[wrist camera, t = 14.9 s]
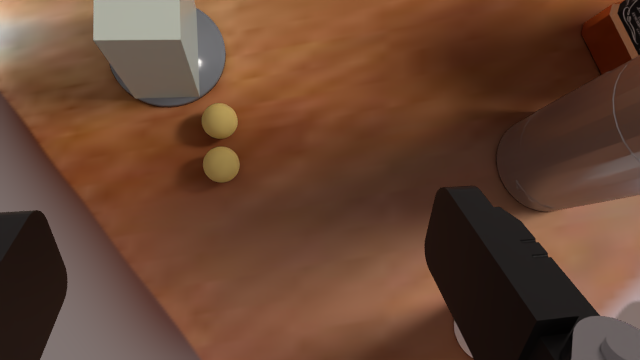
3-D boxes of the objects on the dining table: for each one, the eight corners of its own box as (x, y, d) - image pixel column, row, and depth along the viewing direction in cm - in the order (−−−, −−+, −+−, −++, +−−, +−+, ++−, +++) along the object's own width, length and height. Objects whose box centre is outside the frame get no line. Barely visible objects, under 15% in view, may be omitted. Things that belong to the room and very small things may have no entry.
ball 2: (219, 145, 39) (216, 135, 36) (247, 165, 39) (246, 156, 36) (197, 171, 38) (192, 163, 35) (226, 192, 38) (223, 186, 35)
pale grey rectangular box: (134, 9, 39) (94, -75, 30) (196, 9, 40) (177, -72, 31) (135, 98, 38) (93, 40, 28) (199, 96, 39) (180, 39, 29)
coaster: (110, 3, 40) (108, 0, 39) (223, 4, 41) (222, 1, 41) (109, 108, 38) (107, 106, 37) (228, 105, 39) (227, 103, 39)
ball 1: (218, 104, 39) (215, 91, 36) (245, 123, 39) (244, 112, 36) (196, 129, 39) (191, 118, 36) (224, 149, 39) (221, 139, 36)
